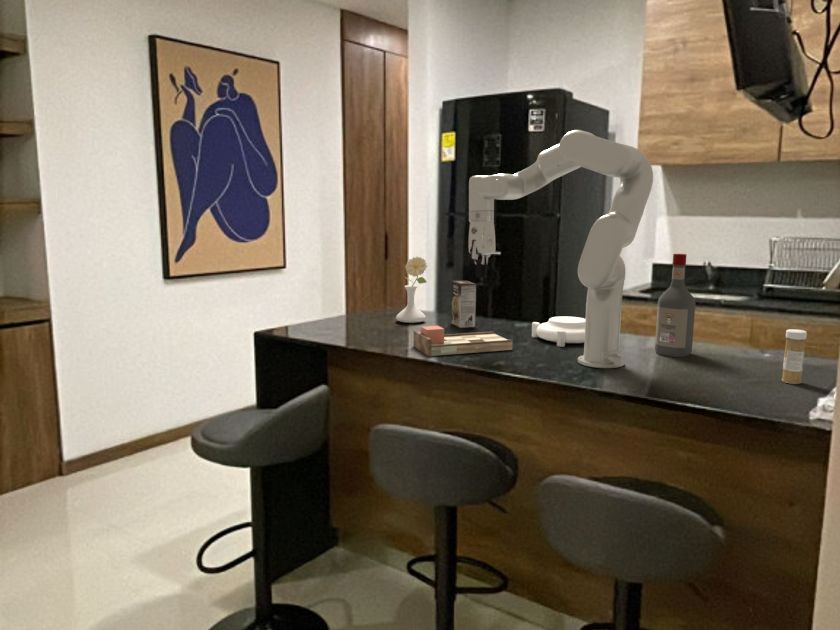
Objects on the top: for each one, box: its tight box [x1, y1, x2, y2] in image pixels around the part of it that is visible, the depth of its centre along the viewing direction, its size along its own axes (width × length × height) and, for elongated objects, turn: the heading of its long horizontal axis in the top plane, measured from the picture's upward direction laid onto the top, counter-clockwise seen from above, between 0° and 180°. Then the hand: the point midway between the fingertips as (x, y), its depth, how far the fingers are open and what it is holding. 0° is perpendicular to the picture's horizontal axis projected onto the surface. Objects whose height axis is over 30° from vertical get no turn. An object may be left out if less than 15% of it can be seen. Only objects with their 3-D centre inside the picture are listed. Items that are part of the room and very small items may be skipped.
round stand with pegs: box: [531, 315, 585, 348], centre depth 219 cm, size 24×24×7 cm
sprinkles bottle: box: [781, 328, 808, 385], centre depth 167 cm, size 5×5×13 cm
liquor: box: [654, 253, 696, 358], centre depth 197 cm, size 9×9×30 cm
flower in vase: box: [395, 256, 428, 324], centre depth 247 cm, size 13×11×25 cm
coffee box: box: [451, 280, 477, 329], centre depth 243 cm, size 9×6×16 cm
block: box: [420, 325, 445, 344], centre depth 202 cm, size 6×6×4 cm
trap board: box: [413, 330, 513, 357], centre depth 206 cm, size 14×28×5 cm, turn 109°
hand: (481, 277), depth 203 cm, fingers closed
